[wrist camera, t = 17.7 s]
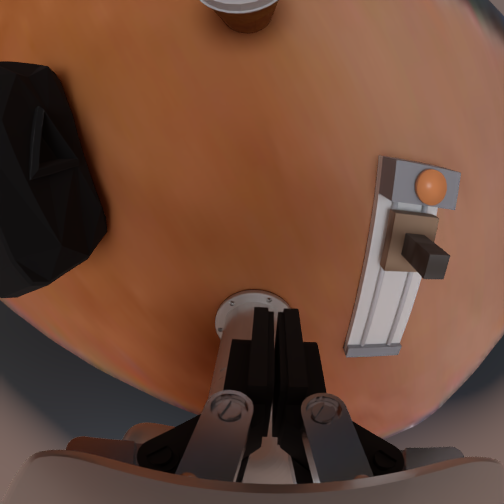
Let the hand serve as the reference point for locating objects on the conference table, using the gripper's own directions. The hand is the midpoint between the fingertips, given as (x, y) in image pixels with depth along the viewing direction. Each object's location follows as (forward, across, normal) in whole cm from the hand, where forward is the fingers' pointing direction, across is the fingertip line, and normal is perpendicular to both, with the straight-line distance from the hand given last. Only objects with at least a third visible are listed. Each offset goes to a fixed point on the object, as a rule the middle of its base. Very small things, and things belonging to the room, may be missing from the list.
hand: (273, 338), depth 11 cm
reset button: (+24, -19, -4) cm, 31 cm away
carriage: (+27, -19, +4) cm, 33 cm away
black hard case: (+29, +31, -6) cm, 43 cm away
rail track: (+29, -19, +10) cm, 36 cm away
